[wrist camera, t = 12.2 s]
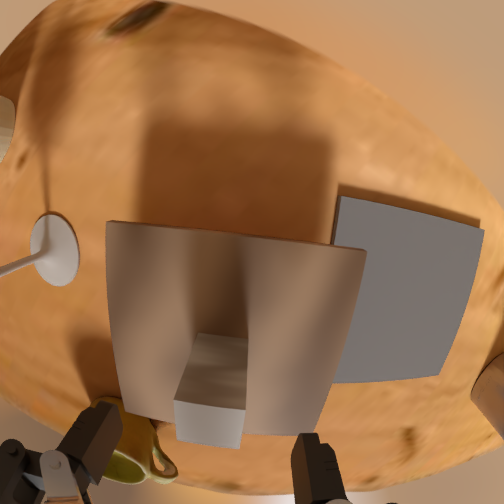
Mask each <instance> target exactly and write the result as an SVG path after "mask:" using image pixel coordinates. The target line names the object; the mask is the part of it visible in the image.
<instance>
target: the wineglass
mask: <svg viewBox="0 0 504 504" xmlns="http://www.w3.org/2000/svg"><path fill="white" fill-rule="evenodd" d="M30 249H31V255H30V256H28V257H25V258H22V259H20V260H17V261H15V262H12V263H9V264H7V265H4V266H2V267H0V277H2V276H4V275H6V274H8V273H11V272H13V271H15V270H17V269H20V268H22V267H25V266H27V265H29V264H32V263H34V265H35V267H36V269H37V271H38V272H39V274H40V275H41V277H42V278H43V279H44V280H45V281H46V282H48V283H50V284H51V285H54V286H64V285H66V284H68V283H70V282H71V281H72V280H73V279H74V278H75V276H76V274H77V272H78V267H79V260H80V253H79V245H78V242H77V239H76V236H75V234H74V232H73V230H72V228H71V227H70V225H69V224H68V223H67V222H66V221H65V220H64V219H63V218H62V217H59V216H57V215H51V214H50V215H46V216H43V217H42V218H40V219H39V220H38V221H37V223H36V224H35V225H34V228H33V230H32V234H31V239H30Z"/></svg>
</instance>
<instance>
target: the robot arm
mask: <svg viewBox="0 0 504 504" xmlns="http://www.w3.org/2000/svg"><path fill="white" fill-rule="evenodd" d="M471 400H472V401H473V403H474V404H475V405H476V406H477V407H478V409H479V410H480V411H481V412H482V413H483V415H484V416H485V417H486V418H487V420H488V421H489V422H490V423H491V424H492V426H493V427H494V428H495V429H496V431H497V432H498V433H499V434H500V436H501V437H502V438H503V440H504V353H503V354H501V355H499V356H498V357H496V358H495V359H494V360H493V361H492V362H491V363H490V364H489V365H488V366H487V367H486V369H485V370H484V371H483V373H482V374H481V376H480V377H479V379H478V380H477V382H476V384H475V386H474V388H473V390H472V393H471ZM122 432H123V424H122V420H121V417H120V413H119V409H118V406H117V405H116V404H113V403H110V402H107V401H104V400H100V401H99V402H98V404H97V405H96V407H95V408H93V407H88V408H87V409H85V410H84V411H82V412H81V413H80V415H79V416H78V418H77V419H76V421H75V422H74V424H73V425H72V427H71V428H70V429H69V431H68V432H67V434H66V435H65V437H64V438H63V440H62V441H61V443H60V445H59V446H58V447H57V449H55V450H49V451H46V452H44V453H39V452H35V451H31V450H27V449H25V448H24V446H23V445H22V443H20V442H19V441H17V440H15V439H8V440H6V441H4V442H3V443H2V444H1V446H0V504H41V501H42V499H43V497H44V495H45V493H46V495H47V501H45V502H44V504H93V501H92V499H91V496H90V493H89V491H88V486H89V483H92V484H95V485H98V484H99V482H100V480H101V478H102V476H103V474H104V471H105V469H106V467H107V465H108V463H109V461H110V459H111V457H112V455H113V452H114V450H115V448H116V446H117V444H118V442H119V440H120V438H121V436H122ZM291 469H292V478H293V487H294V496H295V504H352V503H351V502H350V501H349V500H348V499H347V497H346V495H345V490H344V486H343V482H342V478H341V474H340V471H339V467H338V463H337V459H336V455H335V452H334V450H333V449H332V448H331V447H330V445H329V444H328V443H323V444H320V441H319V436H318V434H317V433H299V435H298V438H297V440H296V443H295V445H294V448H293V450H292V454H291ZM387 504H397V503H387Z"/></svg>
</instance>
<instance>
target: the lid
mask: <svg viewBox="0 0 504 504" xmlns="http://www.w3.org/2000/svg"><path fill="white" fill-rule="evenodd" d="M366 257H367V251H365V250H364V249H361V248H353V247H346V246H338V245H331V244H323V243H315V242H307V241H299V240H291V239H283V238H275V237H266V236H258V235H249V234H241V233H232V232H223V231H214V230H205V229H196V228H186V227H177V226H167V225H157V224H147V223H136V222H126V221H115V220H111V221H107V222H106V281H107V298H108V310H109V320H110V329H111V337H112V345H113V352H114V358H115V364H116V370H117V375H118V381H119V386H120V390H121V395H122V400H123V404H124V408H125V411H126V412H129V413H133V414H136V415H140V416H144V417H148V418H152V419H156V420H160V421H165V422H169V423H174V424H175V426H176V435H177V440H179V441H184V442H190V443H195V444H202V445H208V446H215V447H224V448H233V449H239V448H240V442H241V436H242V433H243V434H257V435H279V436H298V435H299V433H313V431H314V429H315V426H316V424H317V422H318V419H319V417H320V414H321V412H322V409H323V406H324V404H325V401H326V399H327V396H328V393H329V390H330V388H331V385H332V382H333V379H334V376H335V373H336V370H337V367H338V364H339V361H340V358H341V355H342V352H343V348H344V345H345V342H346V338H347V335H348V332H349V328H350V324H351V321H352V317H353V313H354V309H355V306H356V302H357V298H358V293H359V289H360V285H361V280H362V276H363V271H364V267H365V262H366Z"/></svg>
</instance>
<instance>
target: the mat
mask: <svg viewBox="0 0 504 504" xmlns="http://www.w3.org/2000/svg"><path fill="white" fill-rule="evenodd" d="M484 231H485V230H483V229H479V228H476V227H473V226H469V225H466V224H462V223H459V222H455V221H452V220H448V219H444V218H440V217H436V216H433V215H429V214H425V213H420V212H416V211H412V210H408V209H403V208H399V207H395V206H390V205H385V204H381V203H376V202H371V201H366V200H361V199H355V198H350V197H345V196H338V202H337V209H336V216H335V222H334V229H333V235H332V241H331V245H338V246H346V247H353V248H361V249H364V250H365V251H367V257H366V262H365V267H364V271H363V276H362V280H361V285H360V289H359V293H358V298H357V302H356V306H355V309H354V313H353V317H352V321H351V324H350V328H349V332H348V335H347V338H346V342H345V345H344V348H343V352H342V355H341V358H340V361H339V364H338V367H337V370H336V373H335V376H334V379H333V382H332V383H364V382H381V381H393V380H404V379H413V378H421V377H429V376H435V375H439V373H440V371H441V369H442V367H443V364H444V362H445V360H446V358H447V356H448V353H449V351H450V349H451V346H452V344H453V341H454V339H455V336H456V334H457V331H458V328H459V326H460V323H461V320H462V317H463V314H464V312H465V309H466V305H467V302H468V299H469V296H470V292H471V289H472V285H473V282H474V278H475V274H476V270H477V266H478V262H479V257H480V252H481V247H482V242H483V237H484Z"/></svg>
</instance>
